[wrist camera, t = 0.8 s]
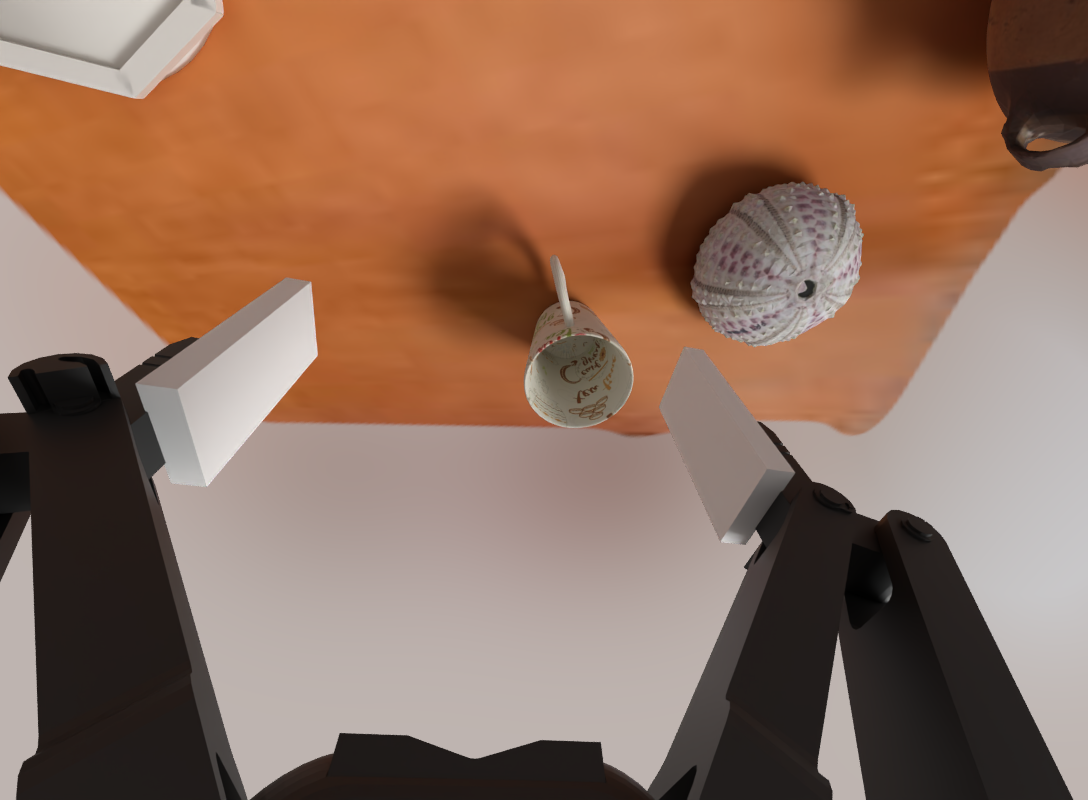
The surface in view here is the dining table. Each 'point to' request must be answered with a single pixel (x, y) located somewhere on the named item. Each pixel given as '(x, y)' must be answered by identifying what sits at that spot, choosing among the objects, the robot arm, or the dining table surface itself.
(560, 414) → the mug
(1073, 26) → the vase
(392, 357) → the dining table surface
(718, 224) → the sea urchin shell
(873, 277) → the dining table surface
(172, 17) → the groove tray
